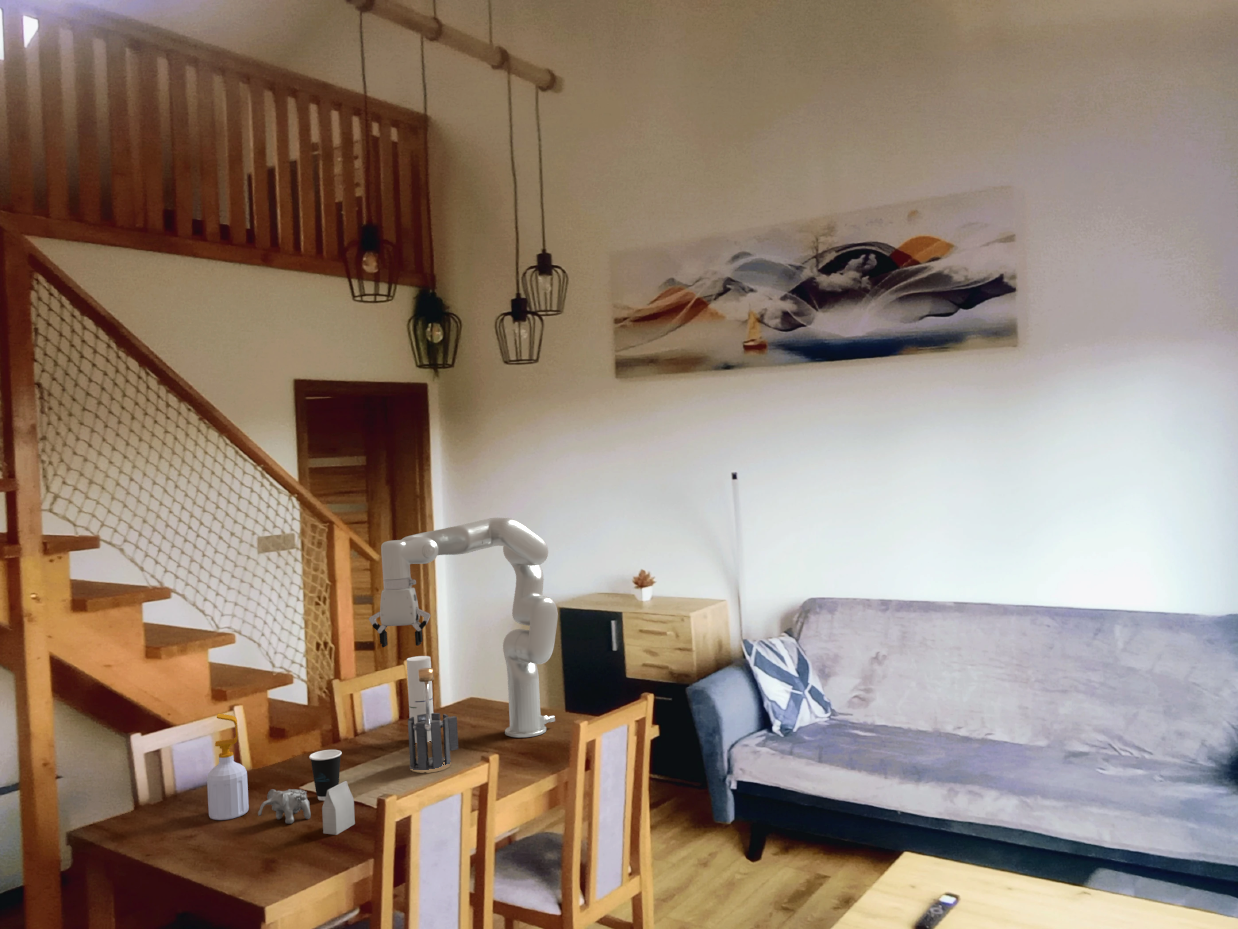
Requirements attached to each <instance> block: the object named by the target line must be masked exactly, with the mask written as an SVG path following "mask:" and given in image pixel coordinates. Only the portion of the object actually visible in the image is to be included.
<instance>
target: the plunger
mask: <svg viewBox="0 0 1238 929" xmlns="http://www.w3.org/2000/svg"><path fill="white" fill-rule="evenodd" d="M418 672H419V681H420V682H425V701H426V721H421V722H417V723H425V731H431V723H430V722H435V721H440V728H441V729H443V720H441V719H440V720H430V708H429V687H428V682H429V681H434V680H435V678H434V668H433V667H431V668H422V669H419V670H418ZM413 729H414V730H416V723H415V724H414V725H413Z"/></svg>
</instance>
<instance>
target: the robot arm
mask: <svg viewBox="0 0 1238 929" xmlns="http://www.w3.org/2000/svg"><path fill="white" fill-rule="evenodd" d="M497 546H499V547H502V553H503V555H504V557H505V559H506V560H507V561H508V562H509V564H510V565H511V566H512V568H513V570H514V573H515V589H514V594H513V595H514V596H513V603H512V619H513V620H514V621H515V622H516V623H517V624H519V625H524V626H528V627H529V629H522V628H518V629H513V630H511V631H509V632H508V633H507V634H506V635H505V637H504V639H503V642H502V651H503V655H504V660H505V664H506V672H507V674H506V675H507V692H508V695H507V696H508V713H509V716H508V717H509V726H507V727H506V729H504V734H505V736H508V737H510V738H521V739H522V738H531V737H537V736H540V735H542V734H545V733H546V731H547V726H546V724H547V723H552V722H553V723H554V722H556V718H555V717H556V716H555V714H554V715H549V716H548V715H542V714H541V701H540V699H541V698H540V697H541V696H540V679H539V678H540V677H539V670H538V669H539V668H538V665H542V664H545V663H547V662H548V661H549V660H550V658H551V657H552V654H553V652H554V648H555V644H556V643H555V641H556V635H557V634H556V633H557V626H558V618H559V614H558V608H557V607H558V606H557V604H556V602H555V601H554V599H552V598H550V597H548V596H546V595H543V593H544V592H543V590H544V580H545V579H544V573H543V569H542V566H541V564H543V563H545V561H547V559H548V557H549V548H548V545H547V543H546V541H544V539H543V538H541V537H540V536H539V535H537V534H536V532H533V531H532V530H530V528H528V527H526V526H525V525H524V524H523V523H521V522H520V521H518V520H516V519H515V518H512V517H489V518H486V519H482V520H478V521H473V522H469V523H464V524H460V525H455V526H450V527H445V528H441V529H435V530H429V531H426V532H420V533H416V534H412V535H408V536H407V535H406V536H405V537H403V538H402V539H397V540H396V539H395V540H394V539H393V540H388V541H384V542H383V543H381V546H380V547H381V548H380V550H381V566H382V581H383V589H382V590H381V595H380V605H379V606H380V607H379V609H380V610H379V611H378V612H376V613H375V614H373V615H371V616H370V617H369V618H368V620H369V622H370V624H371V625H372V628H373V629H374V630H375V631H376V632H377V633H378V634H379V644H380V645H381V648H386V647H387V646H388V644H389V643H388V632H387V631H386V630H387V628H388V627H399V626H412V627H413V628H414V629H415V632H414V642H415V646H420V645H421V644H422V642H423V629H424V628H425V627H426V626H427V625H428V624H429V620H430V618H431V614H430V613H429V612H427V611H425V610H422V609H420V608H419V603H418V602H419V601H418V597H417V592H416V588H415V587H413V585H417V581H416V579H413V578H412V577H411V565H413V564H415V565H416V564H417V565H418V564H419V565H422V564H423V565H425V564H429V563H432V562H433V561H435V559H436V558H437V557H438V556H447V555H449V556H450V555H451V556H452V555H453V556H455V555H465V554H469V553H473V552H476V551H480V550H484V549H488V548H492V547H497ZM420 617H423V620H422V622H419V621H420V619H421V618H420ZM378 618H380V624H381V625H380V624H379V622H377V619H378Z"/></svg>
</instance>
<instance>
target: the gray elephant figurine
mask: <svg viewBox="0 0 1238 929" xmlns="http://www.w3.org/2000/svg"><path fill="white" fill-rule="evenodd" d="M307 793H308V792H307V791H305V790H303V789H295V788H293V789H291V788H288V789H287V790H276V789H273V788H272V789H269V791H268V792H267V796H266V798H267V800H265V801H263V802H262V803H261V804H260V807H259V810H258V811H257V815H258V816H259V817H261V815H262V812H263V808H265V806H267V805H268V806H269V805H270V806H271V810H272V811H274V812H275V818H276V820H281V819H282V818H283V815H284V816H285V820H284V822H285V824H288V825H291V824H293V823H294V822H295V817H294V814H298V812H299V813H300V812H301V811H302V812H303V816H304V819H306V820H309V819H311V809H310V808H311V807H310V800H308V794H307Z"/></svg>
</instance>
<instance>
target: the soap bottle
mask: <svg viewBox="0 0 1238 929" xmlns="http://www.w3.org/2000/svg"><path fill="white" fill-rule="evenodd" d="M216 719H218V720H219V719H220V720H225V721H230V722H233V723H234V729H235V737H234V738H228V739H222V740H216V741H215V744H214V747H219V749H221V751H222V752H220V753H219V754H218V764H217V765H216V766H214V767H213V768H211V770H210V771H209V772H208V773H207V776H206V783H207V784H206V786H207V804H208V806H207V807H208V808H207V809H208V816H209V818H210V819H211V820H214V821H227V820H232V819H237V818H239V817H241V816H243V815H246V813H248V811H249V808H250V807H249V790H248V789H249V788H248V787H249V785H248V771H247V769H246V767H245V766H244V765H242V764H241V763H239V762H236V761H235V759H234V751H230V748H232V745H235V744H236V743H237V742H238V737H239V736H238V735H239V734H238V719H237V717H236V715H235V716H234V715H233V714H231V715H230V714H225V713H217V715H216Z"/></svg>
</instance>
